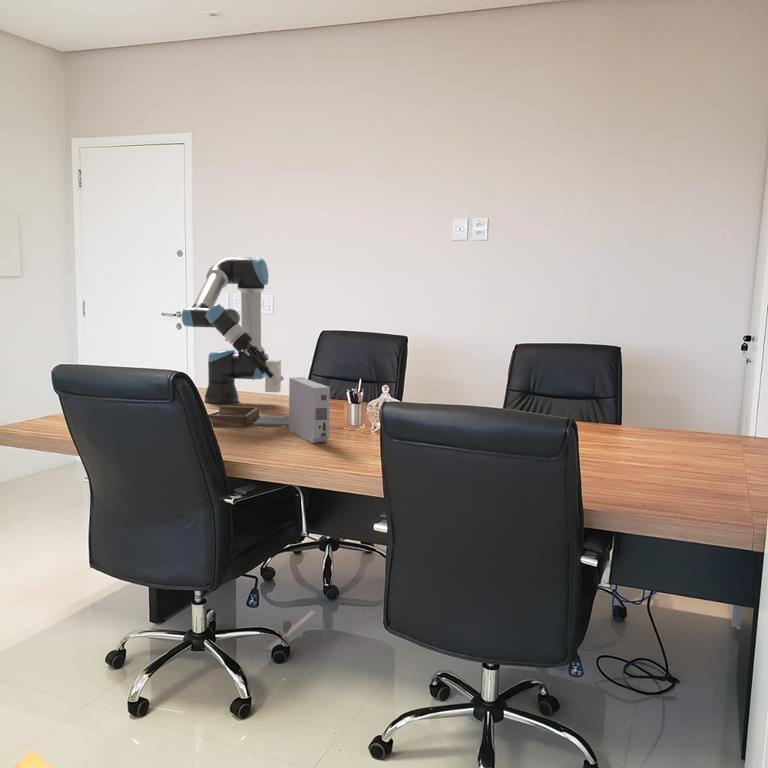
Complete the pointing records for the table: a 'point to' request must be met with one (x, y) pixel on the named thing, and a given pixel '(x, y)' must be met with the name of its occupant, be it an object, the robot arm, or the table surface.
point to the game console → (309, 409)
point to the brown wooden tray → (235, 416)
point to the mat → (272, 421)
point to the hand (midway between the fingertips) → (279, 381)
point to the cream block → (276, 368)
